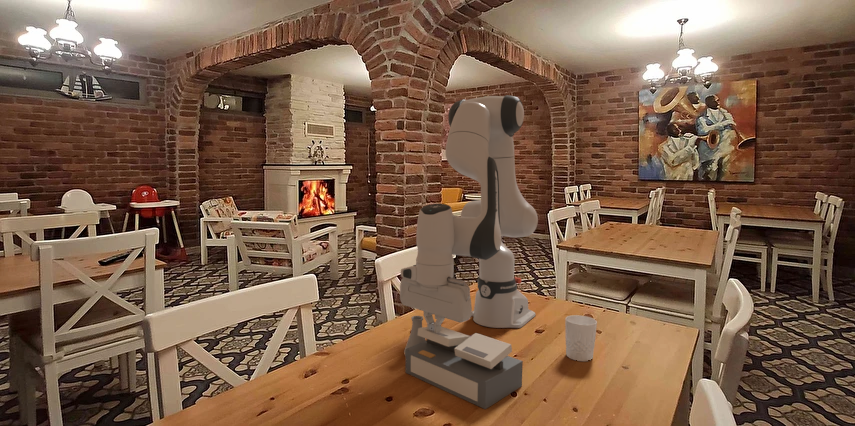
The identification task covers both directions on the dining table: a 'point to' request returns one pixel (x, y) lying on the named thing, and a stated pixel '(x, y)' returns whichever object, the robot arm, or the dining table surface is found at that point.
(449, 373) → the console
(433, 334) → the switch
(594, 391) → the dining table surface
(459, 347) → the switch
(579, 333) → the white cup
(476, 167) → the robot arm
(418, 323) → the flask
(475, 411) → the dining table surface
